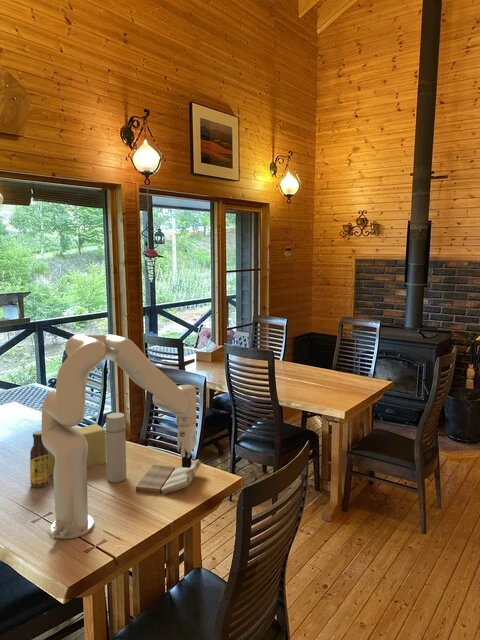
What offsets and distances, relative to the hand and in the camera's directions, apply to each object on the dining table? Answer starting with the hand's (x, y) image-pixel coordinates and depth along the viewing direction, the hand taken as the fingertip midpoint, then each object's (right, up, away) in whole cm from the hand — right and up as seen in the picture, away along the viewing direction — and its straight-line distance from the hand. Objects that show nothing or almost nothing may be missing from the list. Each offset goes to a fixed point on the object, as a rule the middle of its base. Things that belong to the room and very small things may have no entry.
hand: (186, 466), depth 176 cm
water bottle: (-27, -6, +5) cm, 28 cm away
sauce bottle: (-54, -7, 0) cm, 54 cm away
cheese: (-46, -5, +14) cm, 48 cm away
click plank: (-1, -5, +1) cm, 5 cm away
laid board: (-12, -6, +3) cm, 14 cm away
